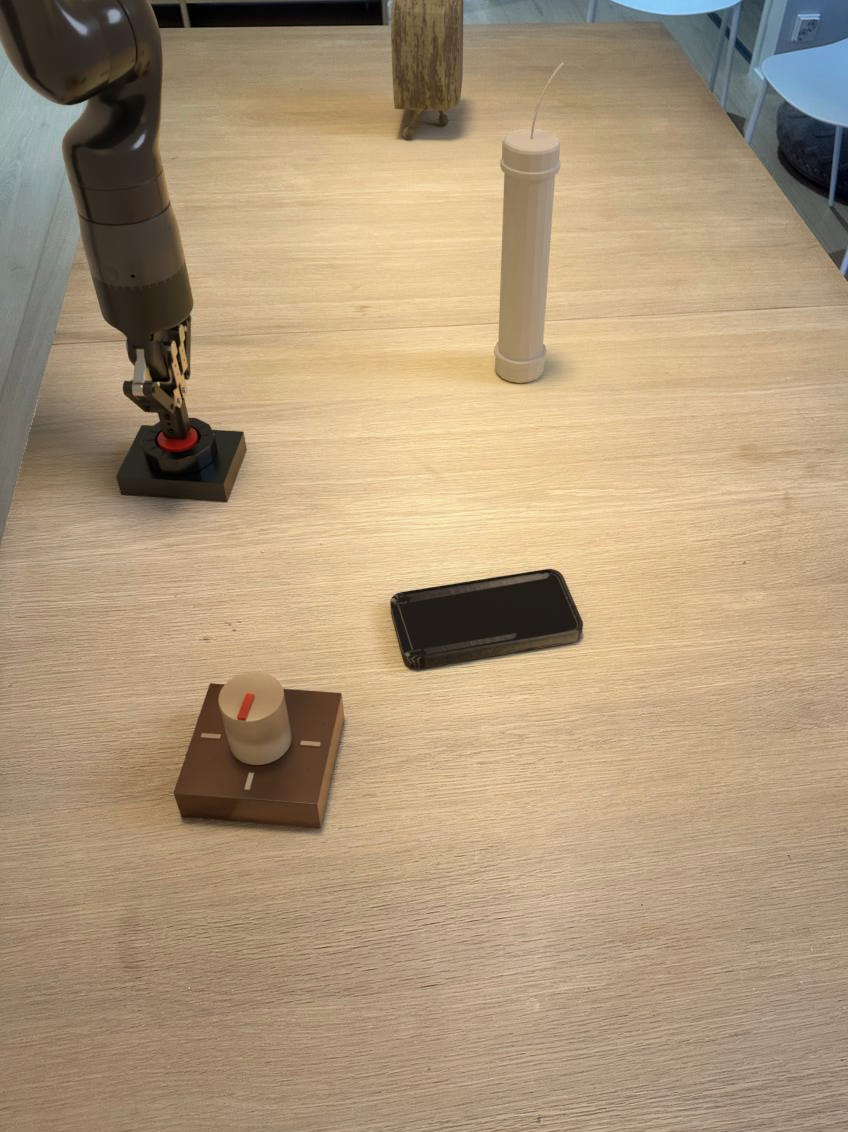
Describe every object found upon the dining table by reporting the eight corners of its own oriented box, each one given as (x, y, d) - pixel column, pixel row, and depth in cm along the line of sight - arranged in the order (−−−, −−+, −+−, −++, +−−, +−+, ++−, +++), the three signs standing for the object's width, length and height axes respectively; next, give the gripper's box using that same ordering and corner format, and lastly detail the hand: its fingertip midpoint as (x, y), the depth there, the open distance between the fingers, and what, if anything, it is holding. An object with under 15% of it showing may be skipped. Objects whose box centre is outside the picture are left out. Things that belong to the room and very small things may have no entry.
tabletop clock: (403, 104, 162) (398, -89, 143) (462, 106, 162) (464, -86, 143) (395, 144, 152) (387, -58, 134) (457, 146, 152) (459, -56, 134)
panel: (180, 817, 75) (172, 792, 72) (216, 707, 81) (209, 681, 79) (321, 828, 74) (316, 803, 72) (344, 717, 81) (341, 691, 79)
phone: (387, 594, 88) (559, 566, 91) (388, 603, 89) (558, 576, 92) (406, 662, 83) (587, 631, 86) (406, 672, 84) (586, 641, 87)
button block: (121, 495, 98) (110, 460, 95) (146, 443, 104) (137, 409, 101) (227, 502, 98) (220, 468, 95) (247, 449, 103) (241, 415, 100)
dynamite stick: (482, 368, 114) (490, 68, 91) (525, 348, 116) (542, 52, 94) (518, 391, 111) (534, 87, 89) (560, 369, 114) (586, 70, 92)
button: (156, 462, 98) (152, 447, 96) (167, 439, 100) (163, 423, 99) (194, 465, 98) (191, 449, 96) (204, 441, 100) (201, 426, 99)
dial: (240, 712, 77) (228, 664, 73) (298, 720, 77) (290, 672, 73) (221, 761, 74) (208, 713, 70) (282, 769, 74) (272, 722, 70)
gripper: (159, 304, 80) (199, 482, 93) (203, 223, 89) (234, 395, 102) (62, 299, 81) (116, 477, 94) (115, 218, 90) (158, 391, 102)
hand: (178, 434), depth 98 cm, fingers closed
